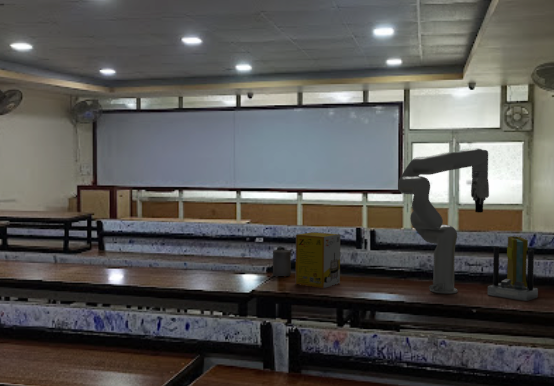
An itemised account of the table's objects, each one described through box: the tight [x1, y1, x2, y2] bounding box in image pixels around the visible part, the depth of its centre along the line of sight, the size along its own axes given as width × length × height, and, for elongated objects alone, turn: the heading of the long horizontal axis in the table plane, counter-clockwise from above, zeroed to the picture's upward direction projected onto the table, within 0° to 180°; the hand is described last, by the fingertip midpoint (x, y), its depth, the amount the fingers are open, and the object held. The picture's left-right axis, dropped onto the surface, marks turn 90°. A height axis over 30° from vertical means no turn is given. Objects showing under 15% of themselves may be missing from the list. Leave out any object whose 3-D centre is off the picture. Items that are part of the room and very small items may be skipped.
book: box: [506, 235, 529, 287], centre depth 286 cm, size 17×7×25 cm, turn 168°
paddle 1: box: [500, 278, 511, 286], centre depth 272 cm, size 4×2×2 cm, turn 134°
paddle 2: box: [515, 282, 524, 286], centre depth 268 cm, size 4×2×2 cm, turn 134°
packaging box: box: [295, 231, 341, 289], centre depth 296 cm, size 16×16×25 cm
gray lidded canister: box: [272, 249, 292, 277], centre depth 319 cm, size 10×10×15 cm
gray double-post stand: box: [487, 245, 539, 302], centre depth 270 cm, size 12×18×22 cm, turn 44°
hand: (479, 212), depth 290 cm, fingers closed
